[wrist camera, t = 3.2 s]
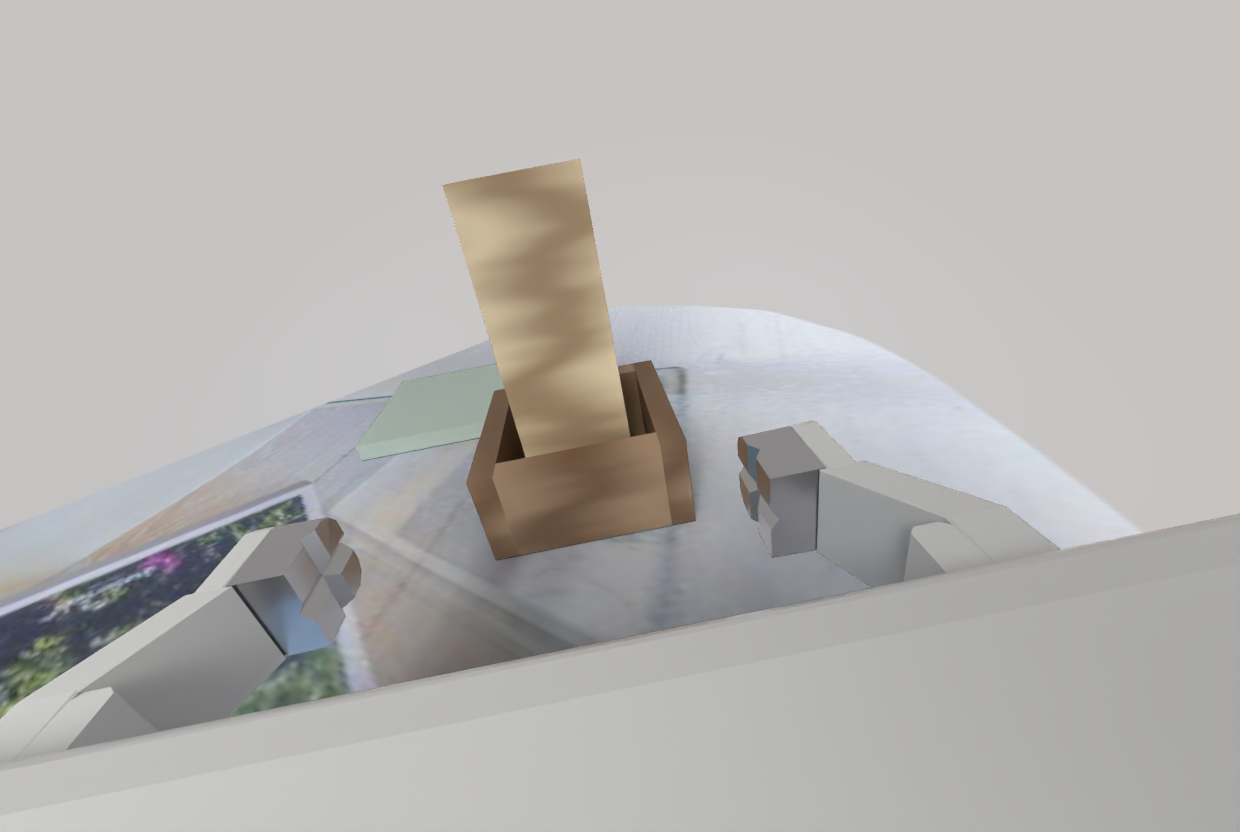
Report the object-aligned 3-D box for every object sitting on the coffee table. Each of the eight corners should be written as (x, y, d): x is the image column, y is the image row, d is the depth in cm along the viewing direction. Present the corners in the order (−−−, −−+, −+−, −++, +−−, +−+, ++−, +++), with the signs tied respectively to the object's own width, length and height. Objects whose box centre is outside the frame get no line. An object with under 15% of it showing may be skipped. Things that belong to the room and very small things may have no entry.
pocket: (495, 560, 21) (466, 483, 19) (513, 453, 28) (494, 390, 26) (695, 520, 21) (685, 439, 19) (660, 424, 28) (650, 360, 26)
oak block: (544, 520, 22) (442, 185, 16) (547, 466, 26) (466, 179, 20) (641, 501, 22) (580, 159, 16) (630, 449, 26) (576, 159, 20)
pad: (362, 460, 30) (355, 446, 30) (407, 392, 39) (402, 381, 39) (521, 429, 31) (517, 415, 30) (531, 368, 39) (527, 357, 39)
